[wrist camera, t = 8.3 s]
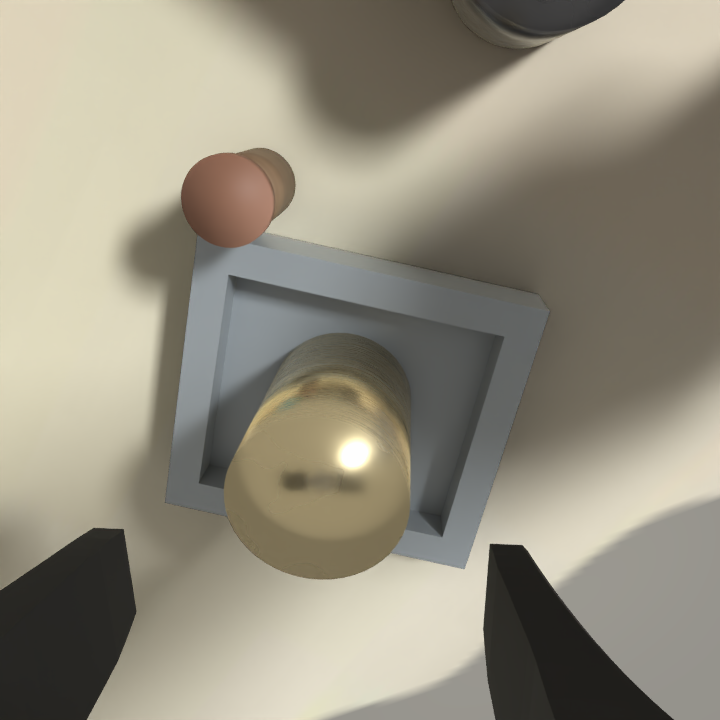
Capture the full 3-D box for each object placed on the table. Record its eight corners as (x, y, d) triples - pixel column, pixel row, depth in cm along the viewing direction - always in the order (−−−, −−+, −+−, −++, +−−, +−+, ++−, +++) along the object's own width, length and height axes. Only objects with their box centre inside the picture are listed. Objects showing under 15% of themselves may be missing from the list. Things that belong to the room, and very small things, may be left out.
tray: (538, 294, 20) (550, 311, 19) (460, 536, 23) (464, 569, 22) (215, 221, 20) (197, 232, 18) (182, 474, 23) (164, 502, 22)
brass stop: (427, 353, 21) (432, 445, 15) (391, 473, 22) (383, 597, 17) (288, 317, 20) (241, 397, 15) (261, 440, 22) (210, 554, 16)
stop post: (304, 153, 19) (279, 165, 16) (292, 228, 20) (264, 256, 16) (230, 136, 19) (186, 144, 16) (219, 212, 20) (176, 236, 16)
